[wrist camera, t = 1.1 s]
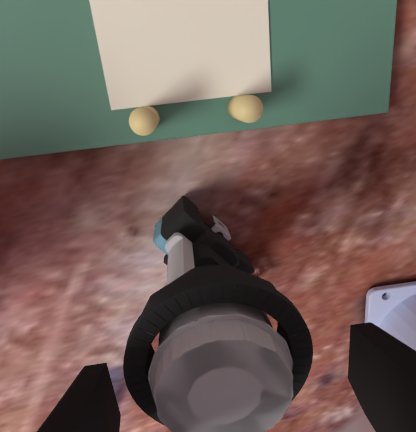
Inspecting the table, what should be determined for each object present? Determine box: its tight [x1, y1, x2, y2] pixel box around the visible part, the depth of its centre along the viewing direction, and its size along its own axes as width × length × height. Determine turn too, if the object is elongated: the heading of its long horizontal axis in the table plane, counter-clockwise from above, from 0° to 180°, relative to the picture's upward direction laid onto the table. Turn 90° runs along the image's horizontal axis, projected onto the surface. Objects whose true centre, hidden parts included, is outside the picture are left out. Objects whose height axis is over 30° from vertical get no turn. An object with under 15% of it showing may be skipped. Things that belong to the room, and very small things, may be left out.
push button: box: [123, 196, 313, 432], centre depth 13 cm, size 7×5×10 cm
